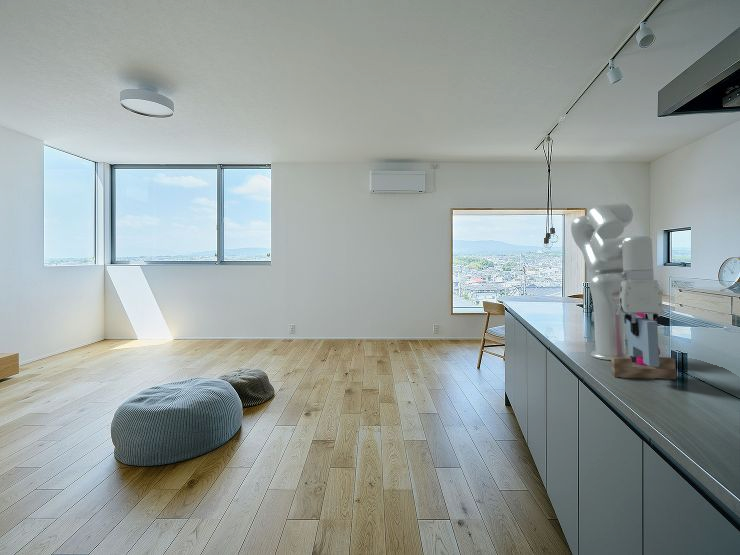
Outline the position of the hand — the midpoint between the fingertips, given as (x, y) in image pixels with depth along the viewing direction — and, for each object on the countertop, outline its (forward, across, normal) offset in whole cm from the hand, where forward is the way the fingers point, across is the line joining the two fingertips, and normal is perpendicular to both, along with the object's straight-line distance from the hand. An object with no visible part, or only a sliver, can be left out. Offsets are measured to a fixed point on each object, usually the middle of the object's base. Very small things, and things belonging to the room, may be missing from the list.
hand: (641, 334), depth 112 cm
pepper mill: (+13, +7, +17) cm, 23 cm away
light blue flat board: (+8, 0, 0) cm, 8 cm away
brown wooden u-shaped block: (+13, 0, 0) cm, 13 cm away
